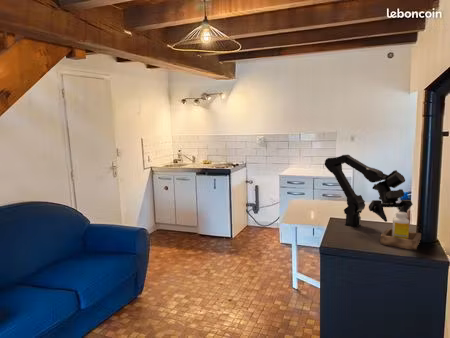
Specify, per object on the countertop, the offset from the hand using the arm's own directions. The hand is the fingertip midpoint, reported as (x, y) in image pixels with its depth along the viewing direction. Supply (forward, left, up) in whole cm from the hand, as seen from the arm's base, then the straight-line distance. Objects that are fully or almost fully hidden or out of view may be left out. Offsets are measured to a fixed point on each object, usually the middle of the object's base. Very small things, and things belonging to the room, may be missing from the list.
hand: (396, 221), depth 160 cm
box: (+3, -3, -9) cm, 10 cm away
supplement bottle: (+2, -3, -8) cm, 9 cm away
